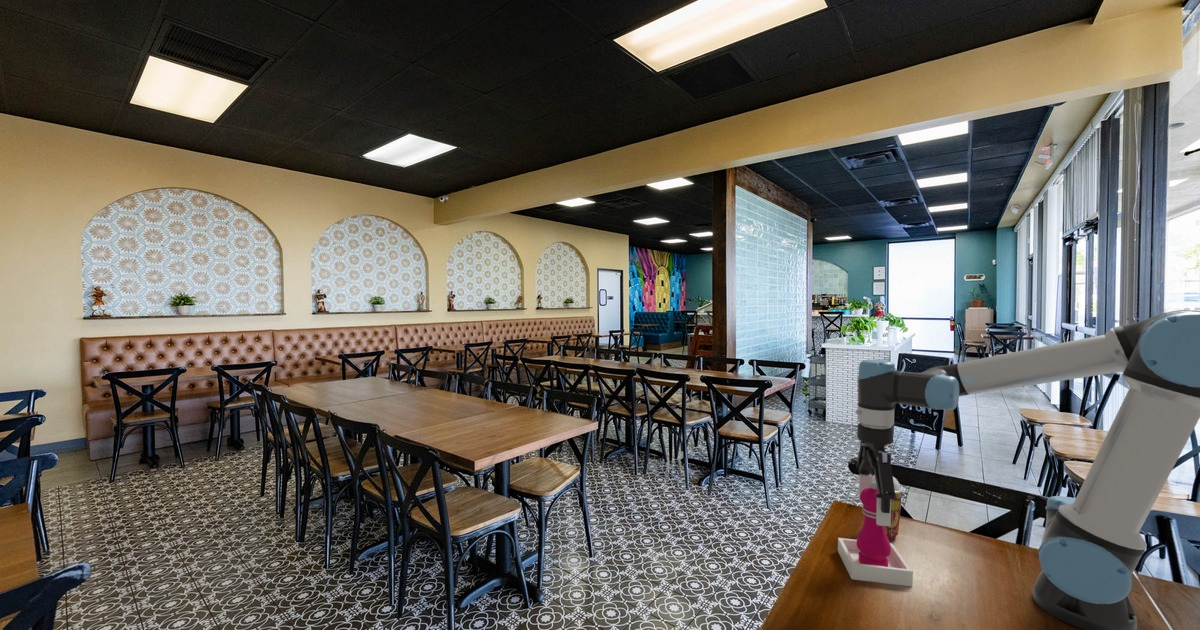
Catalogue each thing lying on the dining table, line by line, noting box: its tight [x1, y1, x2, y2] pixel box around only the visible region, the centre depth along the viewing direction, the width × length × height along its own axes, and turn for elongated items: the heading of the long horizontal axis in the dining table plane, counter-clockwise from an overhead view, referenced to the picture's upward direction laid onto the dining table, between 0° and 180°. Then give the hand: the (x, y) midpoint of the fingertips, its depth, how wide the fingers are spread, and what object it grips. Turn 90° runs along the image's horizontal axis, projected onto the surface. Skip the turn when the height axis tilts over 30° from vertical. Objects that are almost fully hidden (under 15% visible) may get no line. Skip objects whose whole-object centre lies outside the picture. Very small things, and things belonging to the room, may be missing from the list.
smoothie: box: [871, 474, 904, 541], centre depth 130 cm, size 8×8×20 cm
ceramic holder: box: [837, 537, 914, 588], centre depth 115 cm, size 13×13×4 cm
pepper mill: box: [856, 482, 891, 567], centre depth 115 cm, size 7×7×20 cm
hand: (873, 512), depth 115 cm, fingers open, 13 cm apart
